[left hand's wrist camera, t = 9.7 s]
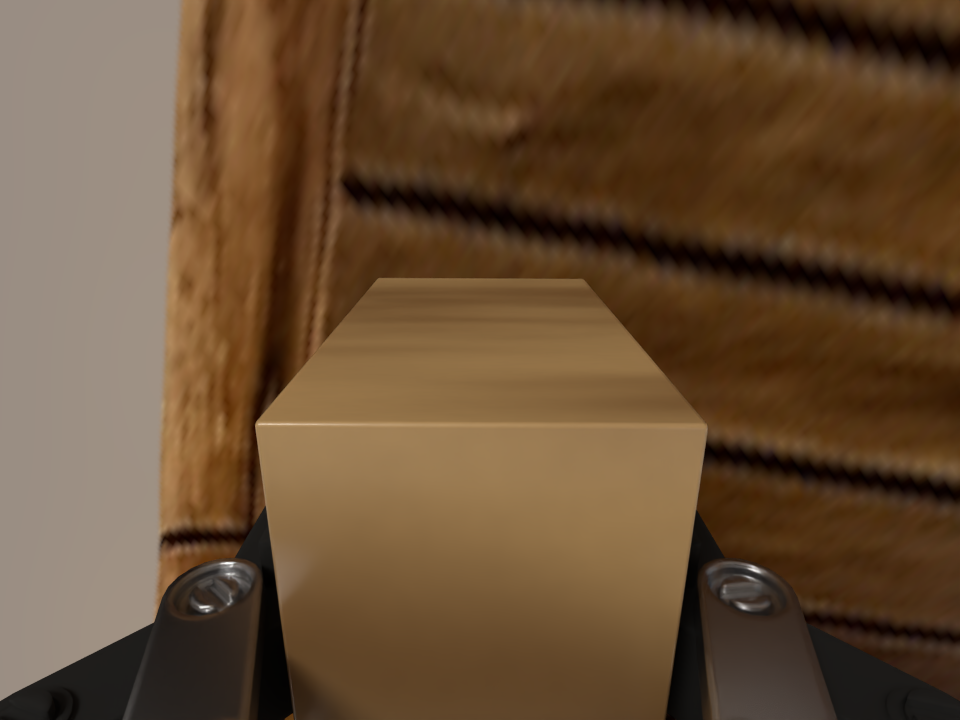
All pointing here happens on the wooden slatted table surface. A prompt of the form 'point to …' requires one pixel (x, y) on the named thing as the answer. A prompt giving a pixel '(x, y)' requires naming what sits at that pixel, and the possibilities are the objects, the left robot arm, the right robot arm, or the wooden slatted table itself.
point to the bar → (480, 508)
